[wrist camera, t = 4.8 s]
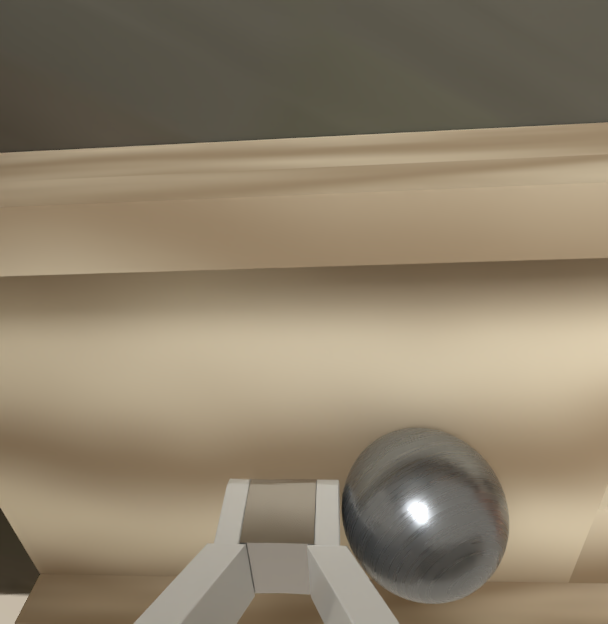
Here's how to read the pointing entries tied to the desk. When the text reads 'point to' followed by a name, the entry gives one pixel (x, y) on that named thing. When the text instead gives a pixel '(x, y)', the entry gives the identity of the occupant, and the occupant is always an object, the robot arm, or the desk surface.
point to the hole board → (302, 350)
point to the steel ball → (425, 515)
